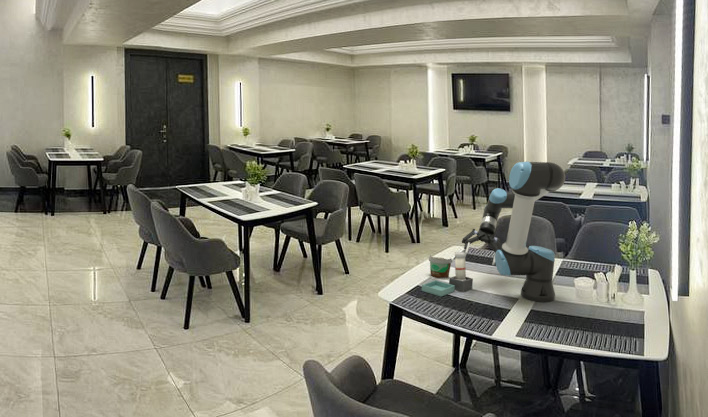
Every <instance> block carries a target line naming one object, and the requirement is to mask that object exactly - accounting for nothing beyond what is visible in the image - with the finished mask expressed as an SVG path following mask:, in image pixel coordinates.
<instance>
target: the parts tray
mask: <svg viewBox="0 0 708 417" xmlns="http://www.w3.org/2000/svg"><path fill="white" fill-rule="evenodd" d="M455 291H456V290H455V286H454V285H451V284H449V283H447V282H443V281H440V280H435V279H434V280H433V281H430V282H428V283H424V284H421V292H425V293H429V294H431V295H434V296H436V297H437V296H438V297H443V296H446V295H448V294H452V293H454V292H455Z"/></svg>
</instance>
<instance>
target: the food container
mask: <svg viewBox="0 0 708 417" xmlns="http://www.w3.org/2000/svg"><path fill="white" fill-rule="evenodd" d="M428 261H429V265H430V266H429V267H430V269H429V270H430V271H429V272H430V276H431V277H432V278H435V279H447V278H450V277H449V276H450V272H451V265H452V263H453V258H449V259H447V258H444V257H435V256H432V255H431V254H430V255H429V257H428Z"/></svg>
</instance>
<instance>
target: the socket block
mask: <svg viewBox="0 0 708 417" xmlns="http://www.w3.org/2000/svg"><path fill="white" fill-rule="evenodd" d="M448 278H449V280H448V284H451V285H454V286H455V290H454V291H458V292H461V293H466V292H467V291H469V290H472V289H473V283H474V282H473V281H474V278H472V277H469V276H466V280H465V281H461V280H457V279H456V275H455V276H451V277H448Z"/></svg>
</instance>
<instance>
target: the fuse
mask: <svg viewBox="0 0 708 417" xmlns="http://www.w3.org/2000/svg"><path fill="white" fill-rule="evenodd" d="M464 255H465V251H456V252H454V261H455V263H454V264H455V266H454V270H455V276H456V279H457V280H461V281H465V280H466V277H467V274H466V273H467V272H466V268H467V267H466V256H467V255H466V256H464Z"/></svg>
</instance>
